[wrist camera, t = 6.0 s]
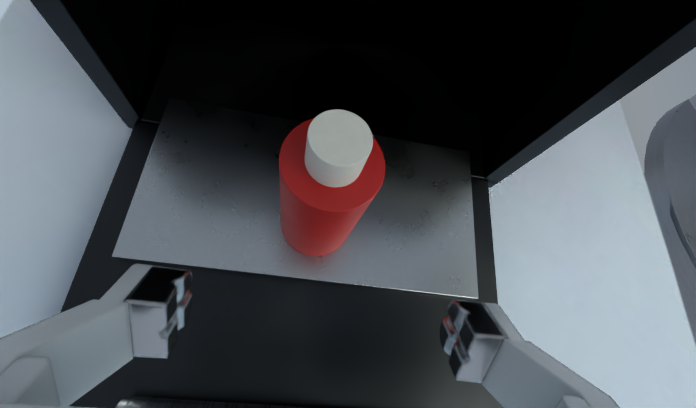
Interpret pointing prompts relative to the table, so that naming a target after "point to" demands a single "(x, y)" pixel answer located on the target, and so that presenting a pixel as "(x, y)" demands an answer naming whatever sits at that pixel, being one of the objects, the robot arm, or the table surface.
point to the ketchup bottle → (327, 180)
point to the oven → (385, 209)
